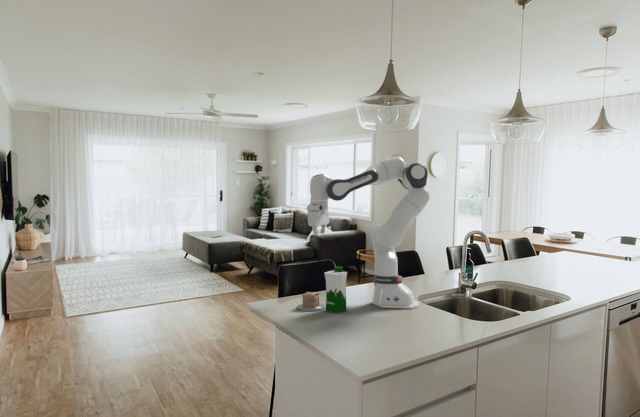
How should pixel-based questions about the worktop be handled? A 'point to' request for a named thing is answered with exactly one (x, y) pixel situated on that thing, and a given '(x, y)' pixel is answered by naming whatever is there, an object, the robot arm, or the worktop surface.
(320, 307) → the coaster
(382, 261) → the robot arm
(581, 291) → the worktop surface
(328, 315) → the worktop surface
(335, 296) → the soya milk
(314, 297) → the letter cube
